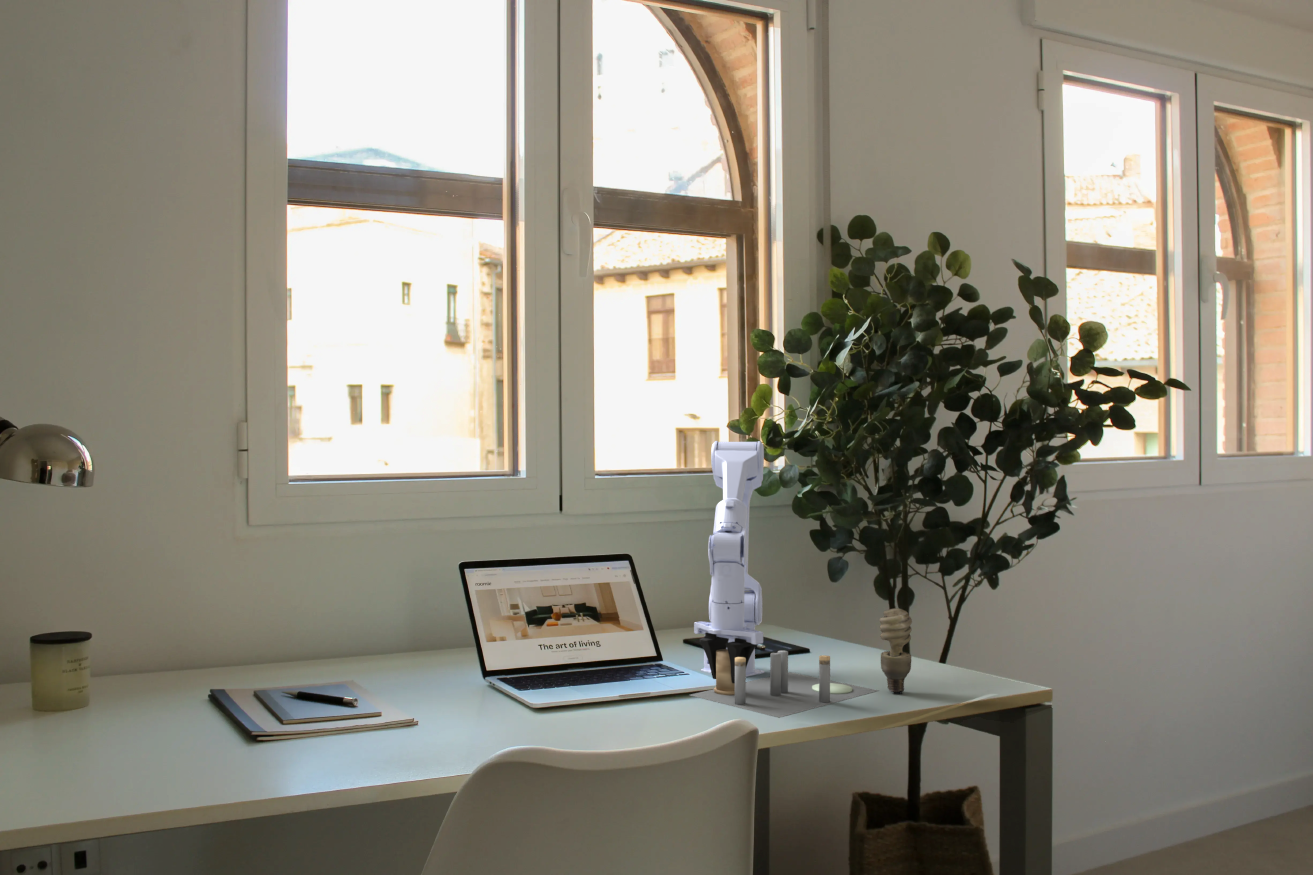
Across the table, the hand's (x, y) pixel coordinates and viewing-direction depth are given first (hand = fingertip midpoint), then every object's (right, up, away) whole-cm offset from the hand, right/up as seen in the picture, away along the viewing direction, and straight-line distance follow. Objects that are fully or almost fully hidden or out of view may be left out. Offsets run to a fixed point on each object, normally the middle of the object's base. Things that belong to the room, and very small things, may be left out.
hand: (727, 680), depth 178 cm
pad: (+19, -2, +2) cm, 19 cm away
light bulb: (+29, -3, 0) cm, 29 cm away
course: (+10, -2, 0) cm, 10 cm away
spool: (0, -2, 0) cm, 2 cm away
